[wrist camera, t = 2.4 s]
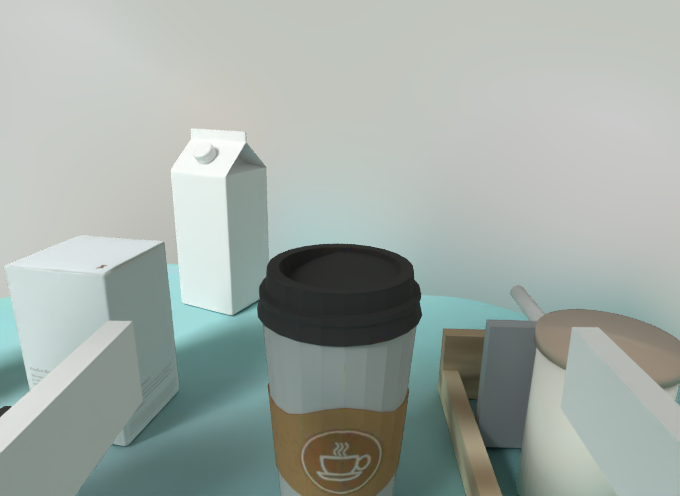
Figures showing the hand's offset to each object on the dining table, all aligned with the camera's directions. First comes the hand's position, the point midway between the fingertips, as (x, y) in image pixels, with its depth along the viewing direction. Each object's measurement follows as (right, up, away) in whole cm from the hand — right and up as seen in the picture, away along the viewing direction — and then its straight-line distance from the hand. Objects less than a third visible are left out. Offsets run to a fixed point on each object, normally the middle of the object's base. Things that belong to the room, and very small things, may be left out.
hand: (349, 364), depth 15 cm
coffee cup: (-1, -12, +15) cm, 19 cm away
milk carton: (-13, -3, +43) cm, 45 cm away
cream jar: (+14, -12, +15) cm, 24 cm away
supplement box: (-17, -9, +23) cm, 30 cm away
